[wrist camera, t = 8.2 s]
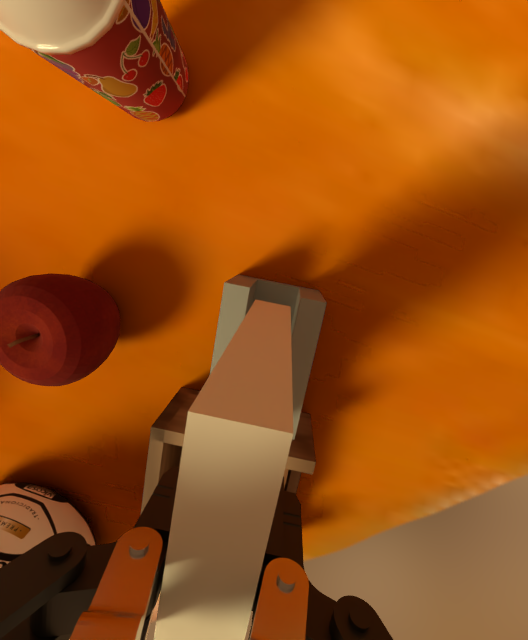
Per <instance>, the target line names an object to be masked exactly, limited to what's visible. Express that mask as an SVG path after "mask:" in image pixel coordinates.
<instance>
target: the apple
mask: <svg viewBox="0 0 528 640" xmlns="http://www.w3.org/2000/svg"><path fill="white" fill-rule="evenodd" d="M119 333H120V314H119V310H118V307H117V305H116V303H115V301H114V300H113V298H112V297H111V296H110V295H109V293H108V292H107V291H105V290H104V289H103V288H101V287H100V286H99V285H97V284H95V283H93V282H91V281H89V280H86V279H83V278H80V277H77V276H72V275H64V274H43V275H34V276H29V277H26V278H23V279H20V280H17V281H14V282H12V283H10V284H9V285H7V286H5V287H4V288H3V289H2V290H1V291H0V364H1V365H2V366H3V367H4V368H5V369H6V370H7V371H8V372H10V373H11V374H12V375H14V376H15V377H17V378H19V379H21V380H23V381H26V382H28V383H31V384H36V385H42V386H62V385H66V384H70V383H73V382H75V381H78V380H80V379H82V378H84V377H86V376H87V375H89V374H90V373H92V372H93V371H95V370H96V369H97V368H98V367H99V366H100V365H101V364H102V363H103V362H104V361H105V360H106V359H107V357H108V356H109V355H110V353H111V352H112V350H113V349H114V347H115V345H116V342H117V340H118V337H119Z"/></svg>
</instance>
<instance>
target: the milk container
mask: <svg viewBox="0 0 528 640" xmlns="http://www.w3.org/2000/svg"><path fill="white" fill-rule="evenodd" d="M62 532H76V533H79V534H81V535H82V536H83V537H84V538H85V540H86V542H87V546H92V545H96V543H95V538H94V535H93V533H92V530H91V528H90V526H89V524H88V522H87V520H86V519H85V518H84V516H83V515H82V514H81V513H80V512H79V511H78V509H77V508H76V507H75V506H74V505H73V504H72V503H71V502H70V501H68V500H66V499H65V498H63V497H62V496H60V495H59V494H57V493H55V492H54V491H52V490H49V489H47V488H44V487H40V486H37V485H33V484H29V483H7V484H2V485H0V568H1V567H3V566H5V565H6V564H8V563H9V562H11V561H12V560H14V559H16V558H17V557H19V556H20V555H22V554H23V553H25V552H27V551H28V550H30V549H31V548H33V547H34V546H36V545H38V544H39V543H41V542H42V541H44V540H45V539H47V538H49V537H51V536H53V535H55V534H58V533H62Z"/></svg>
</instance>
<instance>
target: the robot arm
mask: <svg viewBox="0 0 528 640" xmlns="http://www.w3.org/2000/svg"><path fill="white" fill-rule="evenodd" d="M178 475H179V468H178V467H172V468H170V469H169V470H168V471H166V472H165V473H164V474H163V475H162V477H161V479H160V481H159V482H158V484H157V486H156V488H155V490H154V492H153V494H152V495H151V497H150V499H149V501H148V503H147V504H146V506H145V508H144V510H143V512H142V514H141V515H140V517H139V519H138V521H137V523H136V525H135V526H134V528H133V529H131V530H129V531H127V532H126V533H124V534H123V535H122V536H121V537H120V538H119V540H118V541H116V542H113V543H110V544H103V545H92V546H87V542H86V540H85V538H84V537H83V536H82V535H81V534H79V533H76V532H62V533H58V534H55V535H53V536H51V537H49V538H47V539H45V540H44V541H42V542H41V543H39V544H38V545H36V546H34V547H33V548H31V549H30V550H28V551H27V552H25V553H23V554H22V555H20V556H19V557H17V558H16V559H14V560H12V561H11V562H9V563H8V564H6V565H5V566H3V567H1V568H0V640H69V639H70V640H146V638H147V634H148V630H149V626H150V622H151V618H152V614H153V609H154V607H155V605H156V602H157V599H158V597H159V594H160V591H161V588H162V581H163V574H164V568H165V561H166V554H167V548H168V541H169V534H170V528H171V521H172V514H173V508H174V501H175V494H176V488H177V481H178ZM301 526H302V523H301V504H300V502H299V500H298V498H297V496H296V494H295V493H292V492H287V491H284V476H283V479H282V484H281V488H280V492H279V496H278V501H277V505H276V509H275V513H274V517H273V522H272V526H271V530H270V534H269V538H268V543H267V547H266V551H265V555H264V560H263V564H262V568H261V572H260V576H259V581H258V585H257V589H256V593H255V597H254V602H253V606H252V610H251V611H253V617H252V626H251V630H250V634H249V639H248V640H393V639H392V637H391V636H390V634H389V632H388V631H387V629H386V627H385V626H384V624H383V623H382V621H381V619H380V618H379V616H378V615H377V613H376V612H375V610H374V609H373V608H372V607H371V606H370V605H369V604H368V603H367V602H365V601H364V600H362V599H360V598H358V597H355V596H344V597H342V598H340V599H339V600H338V601H337V602H336V601H334V600H332V599H331V598H329V597H327V596H326V595H324V594H322V593H321V592H319V591H318V590H317V589H316V588H315V587H314V586H313V585H312V584H311V583H310V581H309V580H308V578H307V575H306V573H305V571H304V566H303V546H302V528H301Z"/></svg>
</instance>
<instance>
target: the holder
mask: <svg viewBox="0 0 528 640" xmlns="http://www.w3.org/2000/svg"><path fill="white" fill-rule="evenodd" d="M255 300H261V301H266V302H271V303H276V304H280V305H285V306H290V307H291V349H292V395H293V437H292V439H295V435H296V431H297V426H298V422H299V418H300V414H301V410H302V405H303V401H304V397H305V393H306V388H307V384H308V380H309V376H310V371H311V367H312V363H313V359H314V355H315V350H316V346H317V342H318V338H319V333H320V329H321V325H322V321H323V317H324V312H325V308H326V304H327V302H326V301H325V299H324V298H323V296H322V294H321V293H320V291H319V290H314V289H309V288H304V287H299V286H294V285H289V284H284V283H279V282H274V281H269V280H264V279H259V278H254V277H249V276H244V275H239V274H238V275H236V276H235V277H233V278H231V279H230V280H228V281H226V282H225V283H224V289H223V295H222V301H221V308H220V314H219V320H218V326H217V333H216V339H215V345H214V351H213V358H212V364H211V370H210V374H211V372H212V371H213V369H214V367H215V366H216V364H217V362H218V361H219V359H220V357H221V356H222V354H223V353H224V351H225V349H226V348H227V346H228V344H229V343H230V341H231V339H232V338H233V336H234V334H235V333H236V331H237V329H238V328H239V326H240V324H241V323H242V321H243V319H244V318H245V316H246V314H247V313H248V311H249V309H250V308H251V306H252V304H253V303H254V301H255Z"/></svg>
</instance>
